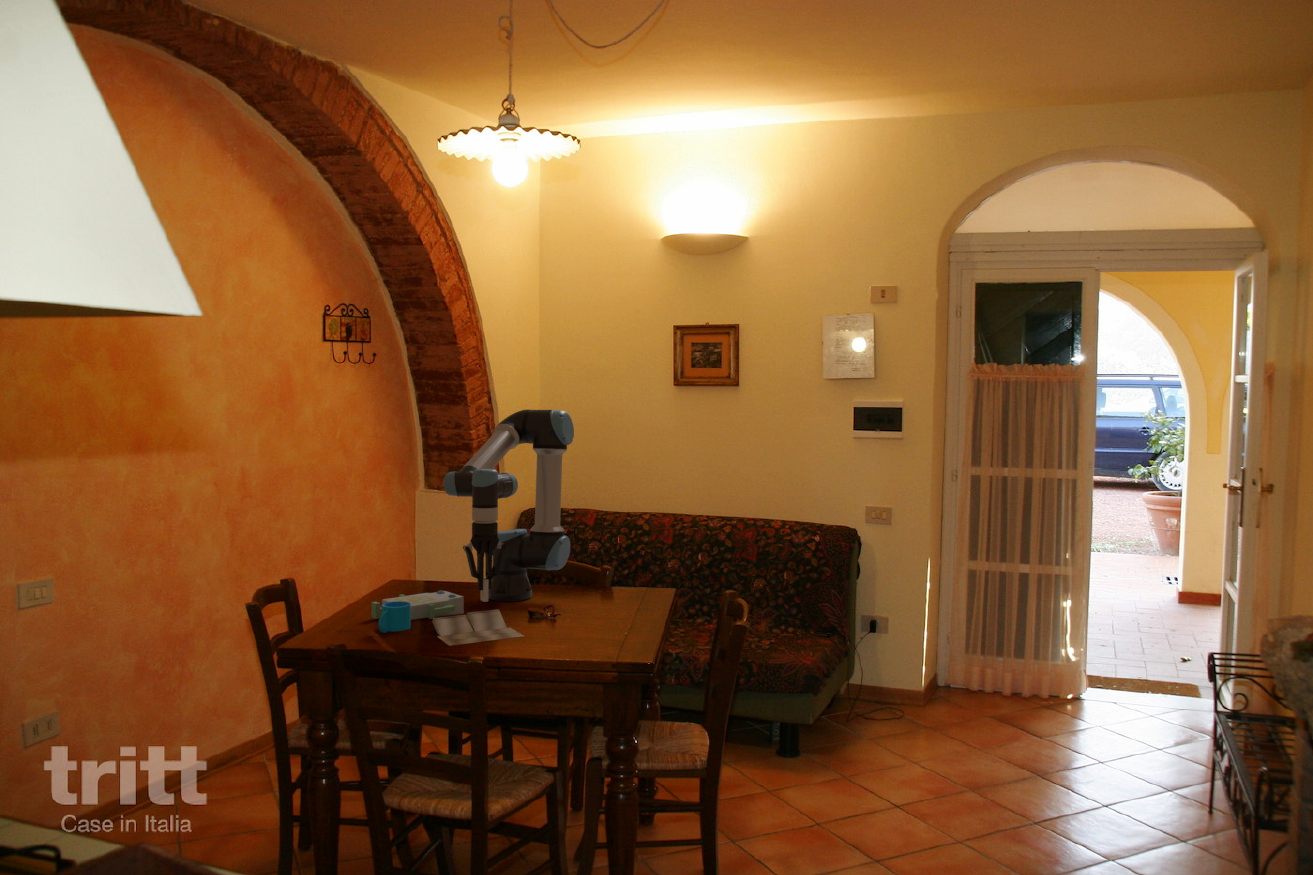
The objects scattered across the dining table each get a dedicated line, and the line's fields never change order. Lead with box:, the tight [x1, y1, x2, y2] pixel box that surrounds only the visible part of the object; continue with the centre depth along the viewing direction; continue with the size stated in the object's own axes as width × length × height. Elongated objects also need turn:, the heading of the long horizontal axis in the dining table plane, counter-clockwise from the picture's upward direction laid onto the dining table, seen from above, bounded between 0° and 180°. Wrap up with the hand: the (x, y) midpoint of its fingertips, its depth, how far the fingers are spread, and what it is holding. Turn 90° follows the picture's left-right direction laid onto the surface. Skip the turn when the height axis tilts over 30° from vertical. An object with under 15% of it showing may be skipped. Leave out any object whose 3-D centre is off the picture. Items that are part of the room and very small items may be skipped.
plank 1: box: [432, 614, 475, 636], centre depth 272 cm, size 10×8×1 cm
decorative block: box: [370, 590, 465, 621], centre depth 294 cm, size 26×6×20 cm
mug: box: [378, 601, 412, 634], centre depth 273 cm, size 12×8×8 cm
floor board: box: [437, 627, 525, 646], centre depth 267 cm, size 22×11×1 cm, turn 120°
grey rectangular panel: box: [466, 609, 508, 632], centre depth 278 cm, size 10×8×1 cm
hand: (484, 600), depth 278 cm, fingers closed
